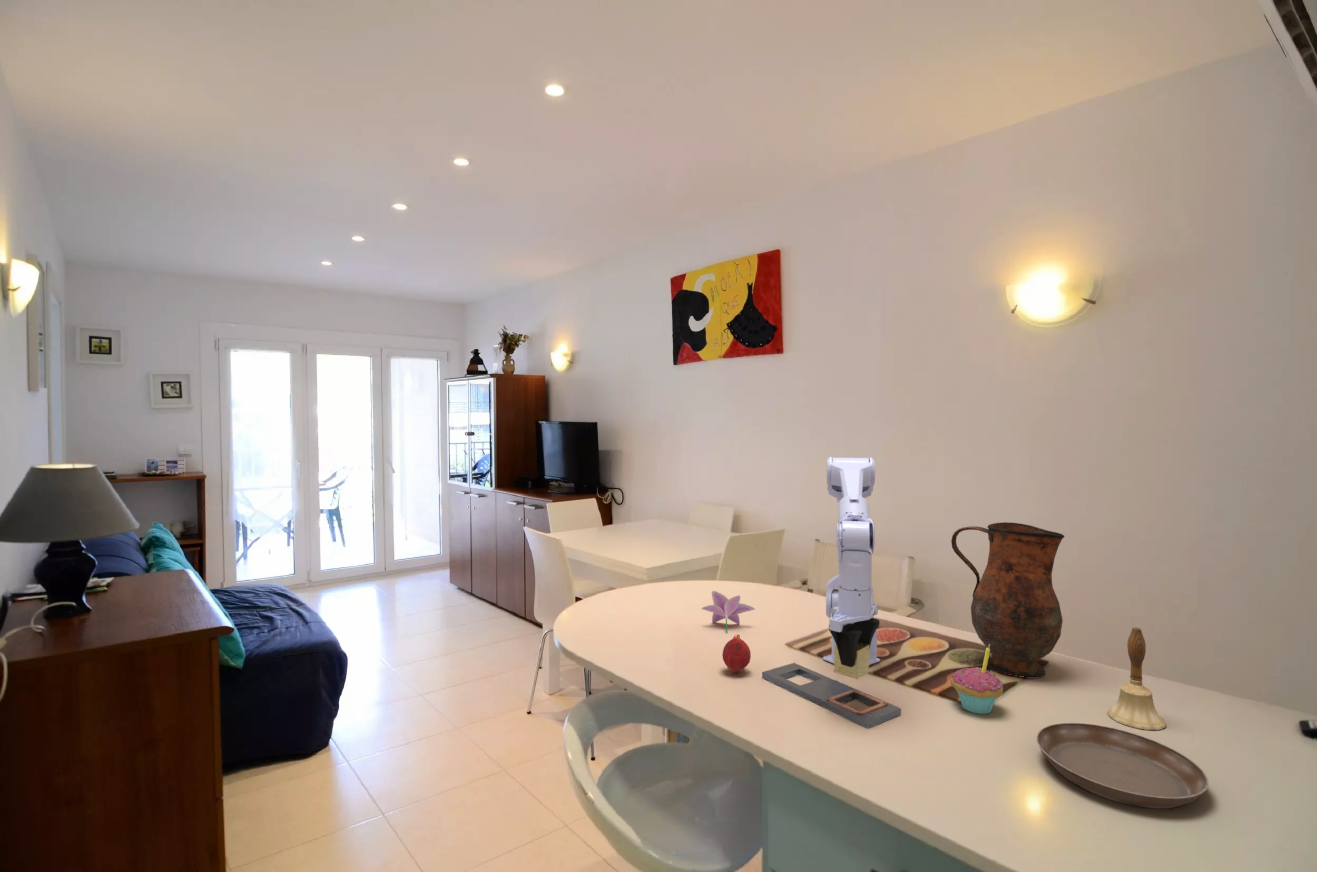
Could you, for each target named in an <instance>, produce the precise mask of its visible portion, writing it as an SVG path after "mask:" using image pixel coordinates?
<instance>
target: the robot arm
mask: <svg viewBox="0 0 1317 872" xmlns="http://www.w3.org/2000/svg"><path fill="white" fill-rule="evenodd" d="M875 464H876V462H875V459H873V457H832V456H829V457H828V458H827V459H826V484H827V485H826V486H827V488H826V489H827V491H828V495H829V496H831V497H834V498H836V500H837V503H838V505H837V517H838V518H837V523H836V527H835V530H836V532H835V533H836V537H835V544H836V545H835V546H836V551H837V562H838V573H837V574H836V575H835V576H833V577H832V578H830V579H829V580H827V583H826V590H825V615H826V617H827V619H828V618H829V620H828V621H829V622H828V623H829V624H828V631H829V633H830V634H831V654H828V655H826V656H825V655H824V656H823V657H822V659H823V660H824V661H826V662H828V663H831V664H833V665H834V645H837V649H838V653H839V657H840V661H841V664H842V665H845V666H848V667H853V666H854V662H855V656H856V648H857V643H858V642H860V643H864V644H868V645H869V666H870V665H873V664H876V663H879V662H881V659H880V658H878V657H877V655H878V654H877V653H878V650H877V649H878V646H877V643H878V635H877V634H878V633H877V632H878V631H877V630H878V628H879V626H880V620H879V619H877V618H874V616H877V615H878V613H879V603H875V597H874V587H873V585H872V568H873V567H872V562H873V561H872V558H873V557H872V554H874V551H875V547H876V545H875V544H876V535H875V534H876V532H875V525H874V522H873V519H872V518H871V516H870V515H871V514H870V506H869V502H868V501H867V499H865V498H868V497H871V496H872V492H873V491H874V485H875V482H876V465H875ZM870 550H871V552H870ZM837 588H838V589H837Z"/></svg>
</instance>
